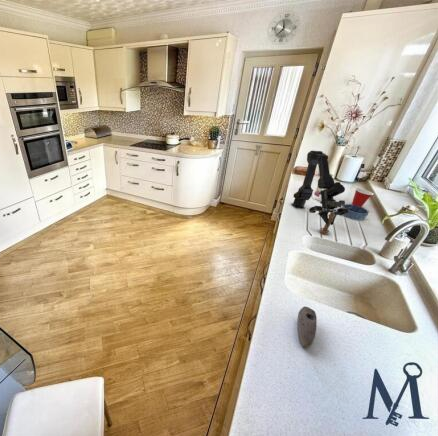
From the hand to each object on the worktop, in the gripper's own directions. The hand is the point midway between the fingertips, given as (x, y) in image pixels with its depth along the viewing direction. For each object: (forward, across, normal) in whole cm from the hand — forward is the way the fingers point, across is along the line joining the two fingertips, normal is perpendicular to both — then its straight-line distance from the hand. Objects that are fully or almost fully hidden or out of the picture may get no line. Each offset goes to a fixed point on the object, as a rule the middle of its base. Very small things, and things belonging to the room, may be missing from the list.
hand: (329, 224), depth 135 cm
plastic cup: (-28, +47, +38) cm, 67 cm away
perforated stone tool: (+55, -44, -45) cm, 83 cm away
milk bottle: (-33, +23, +43) cm, 59 cm away
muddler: (+4, 0, +6) cm, 7 cm away
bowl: (-16, +33, +26) cm, 45 cm away
